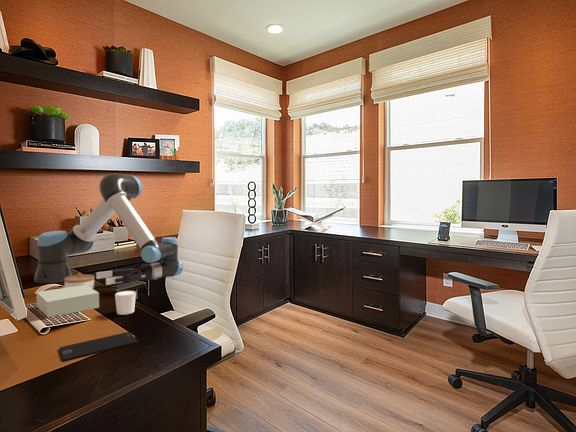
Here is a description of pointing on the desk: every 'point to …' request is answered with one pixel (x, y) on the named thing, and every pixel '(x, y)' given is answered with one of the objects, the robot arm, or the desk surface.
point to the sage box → (67, 300)
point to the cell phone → (96, 346)
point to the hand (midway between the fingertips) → (100, 278)
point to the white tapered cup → (125, 302)
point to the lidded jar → (80, 280)
